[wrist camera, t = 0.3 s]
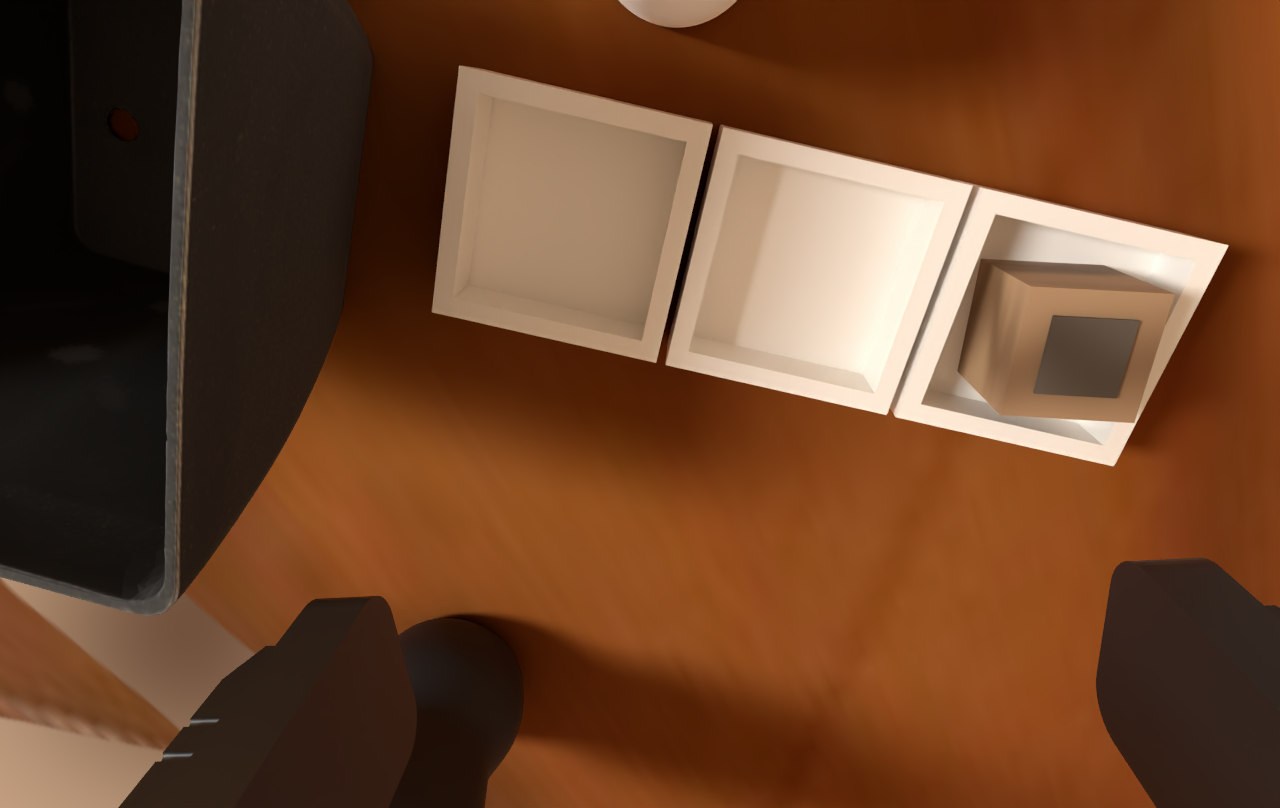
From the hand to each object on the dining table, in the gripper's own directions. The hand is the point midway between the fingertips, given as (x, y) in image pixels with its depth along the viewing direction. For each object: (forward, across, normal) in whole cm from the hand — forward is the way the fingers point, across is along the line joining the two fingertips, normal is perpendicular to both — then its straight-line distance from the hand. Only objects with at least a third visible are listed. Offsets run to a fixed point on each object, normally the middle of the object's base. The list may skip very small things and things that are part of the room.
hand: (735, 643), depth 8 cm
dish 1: (+26, +5, -2) cm, 27 cm away
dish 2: (+26, -4, +1) cm, 26 cm away
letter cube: (+25, -14, +4) cm, 29 cm away
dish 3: (+26, -14, +4) cm, 30 cm away
